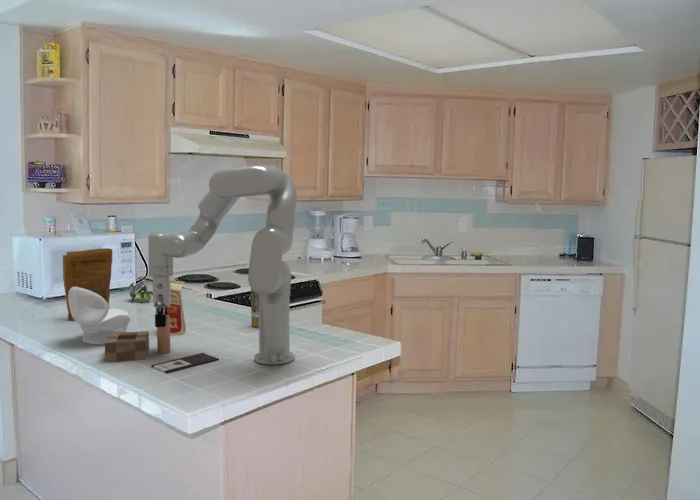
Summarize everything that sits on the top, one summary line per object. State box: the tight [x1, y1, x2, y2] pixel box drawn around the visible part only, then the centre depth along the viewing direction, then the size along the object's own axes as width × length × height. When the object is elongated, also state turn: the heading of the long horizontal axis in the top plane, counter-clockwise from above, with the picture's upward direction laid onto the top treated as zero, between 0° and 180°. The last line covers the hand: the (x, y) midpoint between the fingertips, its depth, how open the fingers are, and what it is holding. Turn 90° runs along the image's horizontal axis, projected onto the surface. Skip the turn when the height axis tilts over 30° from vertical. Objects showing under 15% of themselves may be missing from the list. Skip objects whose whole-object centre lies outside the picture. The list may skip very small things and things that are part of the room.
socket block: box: [104, 330, 150, 363], centre depth 194 cm, size 12×12×6 cm
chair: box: [68, 287, 131, 345], centre depth 211 cm, size 20×20×20 cm
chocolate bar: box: [150, 352, 220, 374], centre depth 187 cm, size 9×1×18 cm
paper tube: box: [250, 288, 259, 328], centre depth 232 cm, size 7×7×25 cm
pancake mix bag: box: [62, 247, 113, 322], centre depth 242 cm, size 7×19×28 cm, turn 125°
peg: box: [156, 315, 172, 355], centre depth 198 cm, size 4×4×12 cm
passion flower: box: [127, 278, 153, 304], centre depth 278 cm, size 11×11×12 cm
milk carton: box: [167, 279, 187, 336], centre depth 223 cm, size 9×9×20 cm
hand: (161, 323), depth 197 cm, fingers open, 9 cm apart
